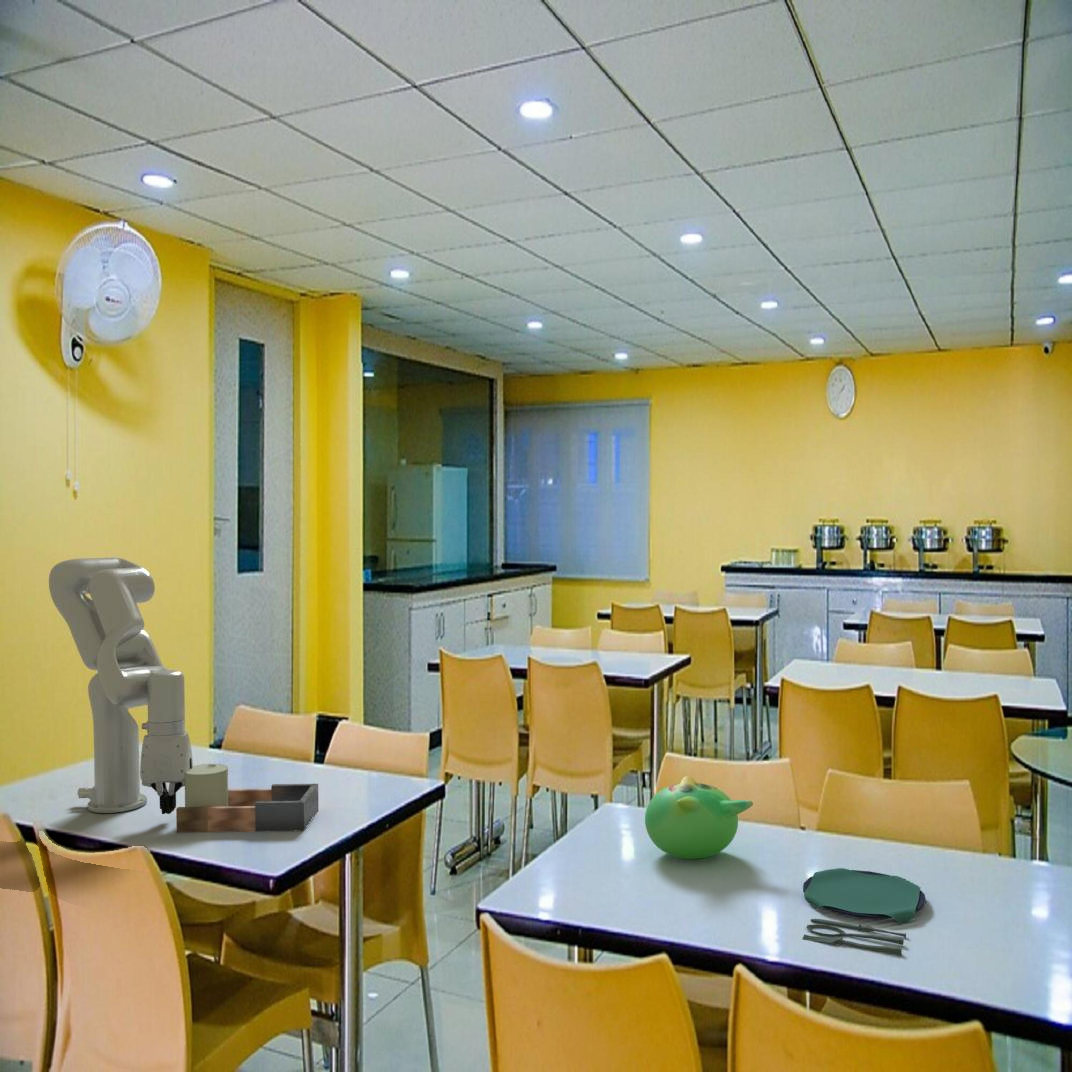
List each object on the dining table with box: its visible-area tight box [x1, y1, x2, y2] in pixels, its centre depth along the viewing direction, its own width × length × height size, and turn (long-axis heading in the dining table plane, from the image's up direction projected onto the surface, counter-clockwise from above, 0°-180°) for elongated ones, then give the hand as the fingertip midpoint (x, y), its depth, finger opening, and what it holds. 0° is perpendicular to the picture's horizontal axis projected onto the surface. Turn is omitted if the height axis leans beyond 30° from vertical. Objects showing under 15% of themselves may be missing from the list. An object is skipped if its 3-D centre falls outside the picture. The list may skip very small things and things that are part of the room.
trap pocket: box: [255, 783, 320, 832], centre depth 210 cm, size 10×14×6 cm
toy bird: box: [644, 775, 754, 860], centre depth 185 cm, size 18×17×15 cm
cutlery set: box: [802, 867, 927, 956], centre depth 159 cm, size 20×30×2 cm, turn 154°
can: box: [184, 763, 229, 807], centre depth 209 cm, size 9×9×12 cm
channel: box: [175, 788, 272, 833], centre depth 209 cm, size 16×14×5 cm
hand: (168, 812), depth 209 cm, fingers closed
